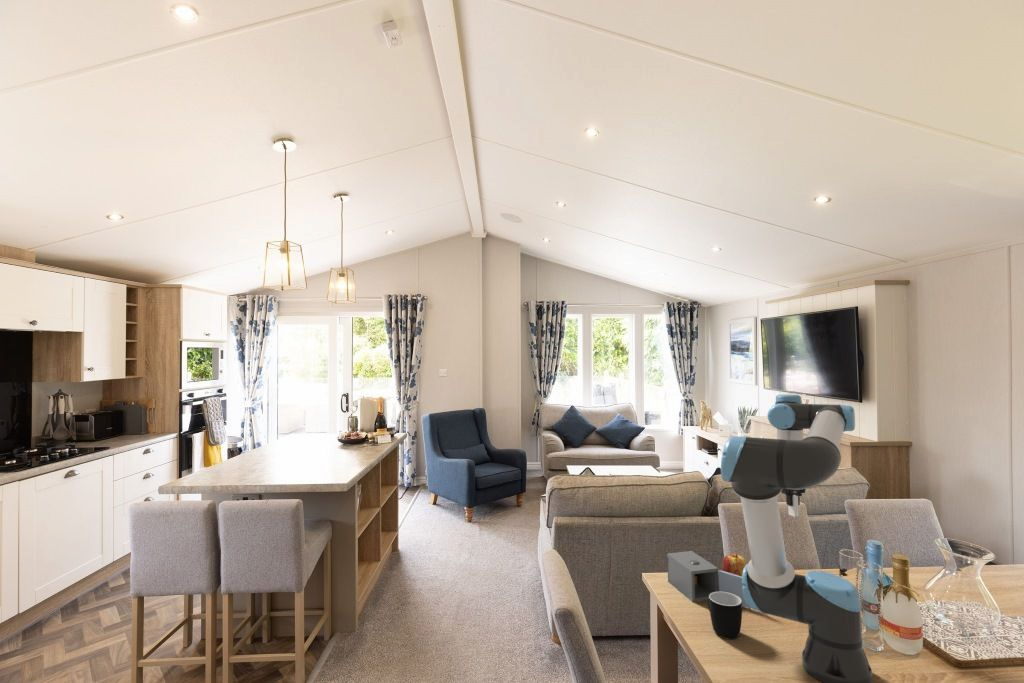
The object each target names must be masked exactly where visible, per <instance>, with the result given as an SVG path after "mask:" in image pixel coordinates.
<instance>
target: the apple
mask: <svg viewBox="0 0 1024 683" xmlns="http://www.w3.org/2000/svg"><path fill="white" fill-rule="evenodd" d="M748 563H749V562H748V561H747V560H746V559H745V558H744V557H743V556H741V555H739V554H735V553H731V554H727V555H725V556H724V557H723V560H722V564H721V566H722V571H725V572H728V573H731V574H735V575H738V576H741V577H742V573H743V569H744V567H745V566H746V565H747V564H748Z"/></svg>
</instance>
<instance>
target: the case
mask: <svg viewBox="0 0 1024 683" xmlns="http://www.w3.org/2000/svg"><path fill="white" fill-rule="evenodd" d="M666 564H667V566H666V568H667V582H668V583H669V584H670V585H671V586H673V587H674V588H675V589H676V590H677V591H679V592H680V593H681V594H682V595H683V596H684V597H686V598H687V599H688V600H689V601H691V602H692V603H694V602H696V603H697V602H702V601H703V602H704V601H708V600H709V595H710V594H711V593H713V592H718V570H719V568H718V567H717V566H715V565H714V564H713V563H712V562H709V561H708V560H706V559H705V558H703V557H702V556H701V555H699V554H697V553H695V552H694V551H693V550H689V551H687V550H686V551H678V552H669V553H668V552H667V554H666Z"/></svg>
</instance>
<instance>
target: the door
mask: <svg viewBox="0 0 1024 683" xmlns="http://www.w3.org/2000/svg"><path fill="white" fill-rule="evenodd" d="M742 587H743V584H742V577H741V576H738V575H735V574H731V573H728V572H725V571H723V570H720V569H718V592H728V593H732V594H734V595H736V596H738V597H739V598H740V599H741V600H742V608H743V607H744V608H747V609H752V608H751V607H749V605H748V604H747V602H746V600H745V598H744V594H743V589H742Z"/></svg>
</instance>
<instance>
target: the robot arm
mask: <svg viewBox="0 0 1024 683" xmlns="http://www.w3.org/2000/svg"><path fill="white" fill-rule="evenodd" d="M767 420H768V422H769V423H770V425H771V426H773V427H774V428H775V429H776V437H777V438H765V437H752V436H750V437H749V436H747V435H744V436H734V435H733V436H731V437H728V438H727V439H726V441H725V444H724V446H723V450H722V454H721V459H720V460H721V461H720V476H721V479H722V480H723V481H724V482H726V483H731V488H732V491H733V493H735V494H736V496H739V497H740V502H741V508H742V514H743V519H744V521H743V522H744V526H745V530H746V537H747V542H748V548H749V554H750V560H749V561H748V562H747V563H748V564H747V565H746V566H745V567H744V569H743V573H742V584H743V587H742V589H743V594H744V598H745V600H746V602H747V604H748V605H749V607H751V609H752V610H754V611H757V612H760V613H762V614H763V615H764V614H765V615H771V616H773V617H778V618H781V619H787V620H789V621H794V622H798V623H800V624H804V625H808V626H807V627H808V628H807V629H808V636H807V639H806V641H805V646H804V649H803V650H802V653H801V659H802V660H801V662H802V666H803V668H804V670H805V671H806V672H807V673H808V674H809V675H811V677H813V678H814V679H816V680H818V681H820V682H821V683H874V681H873V680H874V678H873V670H872V667H871V665H870V664H869V661H868V657H867V654H866V652H865V650H864V647H863V633H862V632H863V631H862V617H861V616H862V615H861V611H862V608H863V607H862V605H861V596H860V591H859V590H858V588H857V586H855V585H854V584H853V583H852V582H850V581H849V580H848V579H846V578H844V577H842V576H840V575H837V574H835V573H832V572H829V571H828V572H827V571H823V570H809V571H807V572H806V573H805V575H802V574H798V573H796V571H795V568H794V566H793V565H792V564H791V562H790V561H788V560H787V554H786V548H785V542H784V540H785V539H784V532H783V527H782V520H781V514H780V508H779V506H780V505H779V501H778V496H779V495H780V494H784V495H785V498H786V499H785V500H786V503H785V504H786V505H787V508H788V510H787V511H788V515H789V516H792V517H793V518H798V517H799V516H800V513H799V512H800V511H799V506H800V505H801V504H800V503H801V502H800V497H802V496H803V494H805V493H806V490H807V489H810V488H813V487H816V486H818V485H820V484H823V483H824V482H826V481H828V480H829V479H830V478H831V477H833V476H834V475H835V474H836V473H837V471H838V470H839V468H840V465H841V461H842V455H841V452H840V450H839V449H840V445H841V442H842V439H843V438H842V437H843V434H844V432H853V431H855V427H856V414H855V408H854V407H853V406H852V405H846V404H840V403H839V404H822V403H821V404H820V403H819V404H816V403H803V401H802V396H800V395H799V394H793V393H791V394H789V393H788V394H787V393H786V394H783V393H782V394H777V395H776V396H775V401H774V404H773V405H772V406H771V407H770V408H769V409H768V411H767ZM804 429H805V430H808V432H807V434H806V436H805V437H804Z"/></svg>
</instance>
